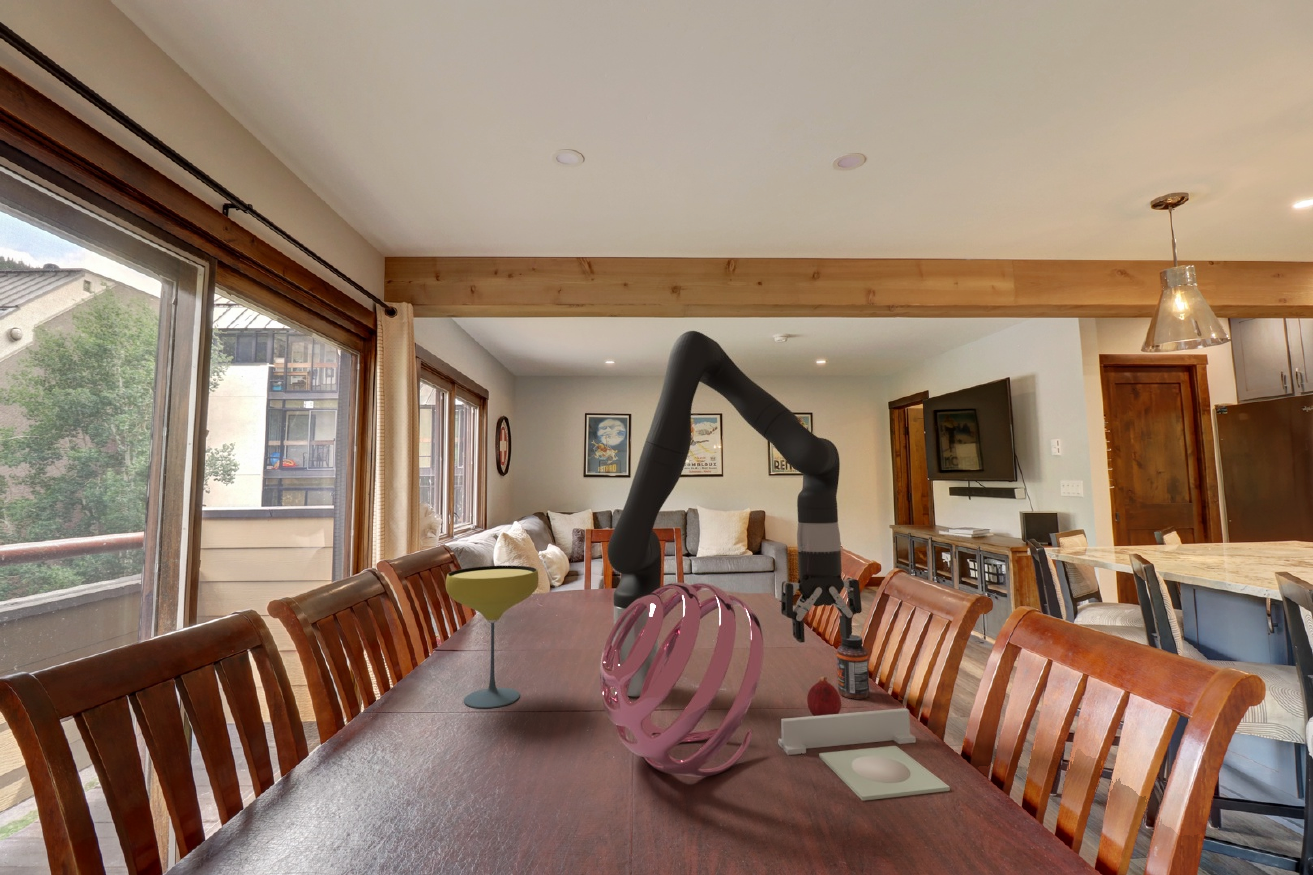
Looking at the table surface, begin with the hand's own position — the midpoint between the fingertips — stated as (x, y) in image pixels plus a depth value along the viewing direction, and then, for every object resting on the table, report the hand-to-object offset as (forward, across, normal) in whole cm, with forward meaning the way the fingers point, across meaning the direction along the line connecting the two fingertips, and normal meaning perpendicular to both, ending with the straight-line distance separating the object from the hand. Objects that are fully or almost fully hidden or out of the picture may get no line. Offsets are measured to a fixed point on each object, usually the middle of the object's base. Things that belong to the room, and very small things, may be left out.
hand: (822, 639), depth 105 cm
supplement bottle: (+15, -12, -12) cm, 22 cm away
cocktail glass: (+14, +59, -25) cm, 66 cm away
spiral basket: (+14, +28, +8) cm, 33 cm away
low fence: (+14, 0, +8) cm, 16 cm away
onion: (+15, 0, 0) cm, 15 cm away
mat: (+14, 0, +18) cm, 23 cm away
